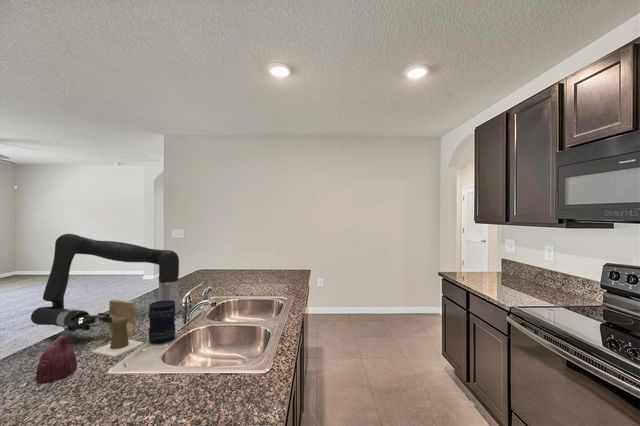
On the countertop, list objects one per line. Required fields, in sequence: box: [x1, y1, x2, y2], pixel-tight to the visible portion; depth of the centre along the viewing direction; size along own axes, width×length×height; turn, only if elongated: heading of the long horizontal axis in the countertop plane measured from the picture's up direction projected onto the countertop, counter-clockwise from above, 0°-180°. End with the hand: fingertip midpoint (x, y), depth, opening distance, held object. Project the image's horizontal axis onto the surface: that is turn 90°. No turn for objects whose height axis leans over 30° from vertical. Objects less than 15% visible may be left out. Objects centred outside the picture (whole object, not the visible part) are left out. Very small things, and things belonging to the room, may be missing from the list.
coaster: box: [91, 339, 145, 358], centre depth 114 cm, size 12×12×1 cm
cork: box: [110, 317, 129, 349], centre depth 115 cm, size 6×6×11 cm
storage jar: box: [148, 300, 176, 345], centre depth 123 cm, size 10×10×15 cm
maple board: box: [106, 299, 138, 338], centre depth 129 cm, size 4×13×14 cm, turn 71°
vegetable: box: [35, 332, 78, 384], centre depth 96 cm, size 10×10×15 cm
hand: (100, 323), depth 118 cm, fingers open, 8 cm apart
